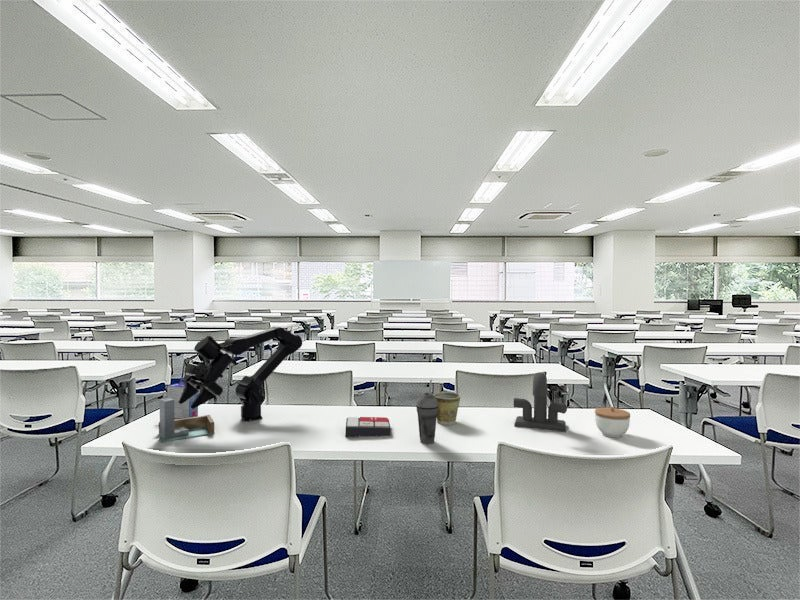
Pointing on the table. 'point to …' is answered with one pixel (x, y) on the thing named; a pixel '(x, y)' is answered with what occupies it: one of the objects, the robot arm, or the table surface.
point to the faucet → (540, 409)
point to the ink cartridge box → (184, 408)
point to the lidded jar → (612, 421)
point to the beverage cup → (427, 416)
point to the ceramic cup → (447, 407)
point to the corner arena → (193, 427)
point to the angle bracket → (169, 421)
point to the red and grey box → (367, 426)
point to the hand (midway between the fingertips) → (185, 405)
